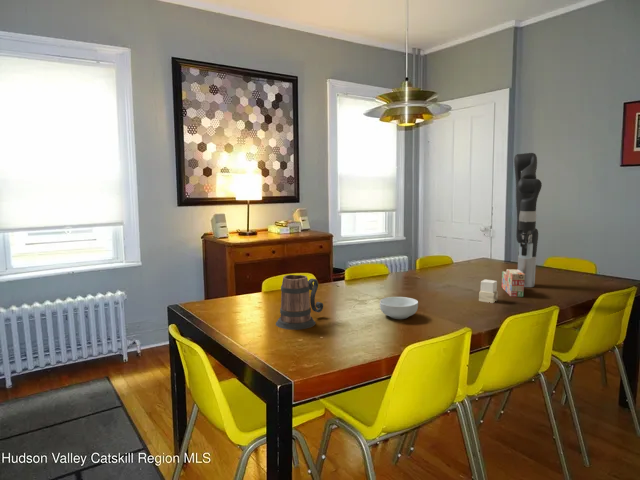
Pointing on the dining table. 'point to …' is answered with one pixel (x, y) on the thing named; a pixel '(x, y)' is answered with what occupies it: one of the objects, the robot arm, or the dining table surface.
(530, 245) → the slate block
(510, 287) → the printed cardboard box
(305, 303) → the tankard
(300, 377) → the dining table surface
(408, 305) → the cereal bowl
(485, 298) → the tower base
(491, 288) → the tower middle
